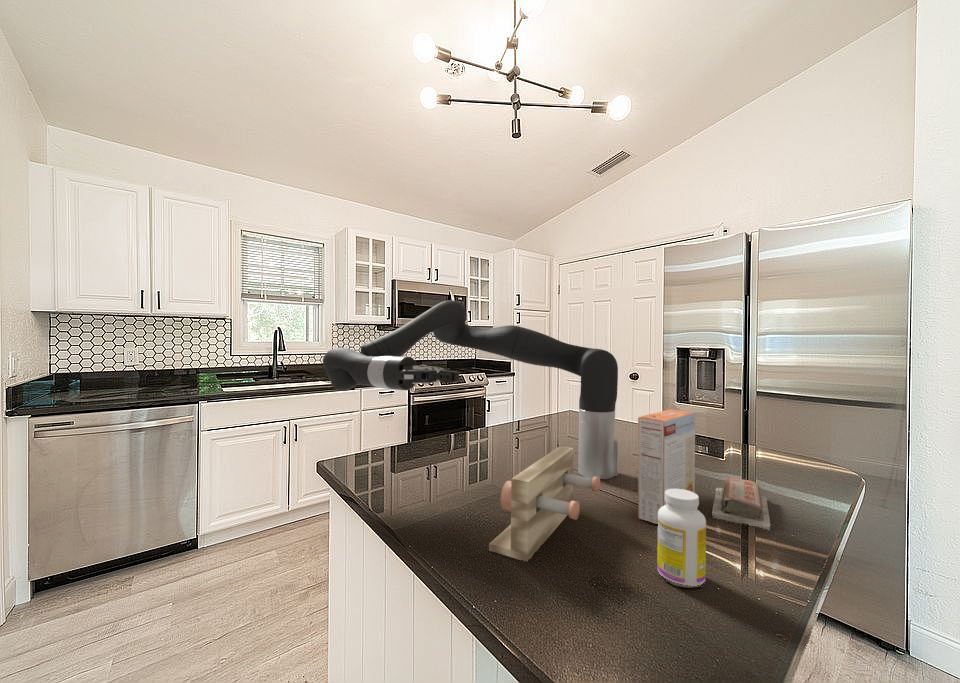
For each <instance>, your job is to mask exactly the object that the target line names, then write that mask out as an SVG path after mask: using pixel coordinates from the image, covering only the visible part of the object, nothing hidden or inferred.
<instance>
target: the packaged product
mask: <svg viewBox="0 0 960 683" xmlns="http://www.w3.org/2000/svg"><path fill="white" fill-rule="evenodd" d="M711 511H712V512H711V515H712V516H714V517H717V518H721V519H726V520H732V521H736V522H740V523H745V524H750V525H755V526H759V527H763V528H767V529H770V530H771V521H770V513H769V507H768V500H767V497H766V496H763V495H762V494H761V489H760V485H759V484H758V483H756V482H754V481H752V480H751V479H748V480H747V479H742V478H737V477H726V478H725V480H724V488H723V487H721V486H716V488H715V493H714V499H713V505H712V510H711Z"/></svg>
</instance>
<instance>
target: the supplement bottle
mask: <svg viewBox="0 0 960 683" xmlns="http://www.w3.org/2000/svg"><path fill="white" fill-rule="evenodd" d="M665 501H666V505H664V506H662V507H661V508H660V509H659V511H658V526H657V547H656V548H657V550H656V551H657V554H656V556H657V558H656V559H657V561H656V562H657V564H656V567H657V568H656V569H657V572H659V573H658V575H659V574H660V575H661V576H663V577H664V578H666V579H668V580H670V581H672V582H675V583H679V584H683V585H688V586H689V585H690V586H697V585H701V584H703V583H704V582H706V573H707V571H706V570H707V519H706V517H705V515H704V514H703V513H702V512H701V511H700V510H699V509H698V507H699V505H700V496H699V495H698V494H697V493H696V492H695V493H693V492H691V491H688V490H683V489H667V490H666V491H665ZM660 575H659V576H660ZM661 576H660V577H661ZM704 584H705V583H704Z"/></svg>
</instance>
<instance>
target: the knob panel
mask: <svg viewBox="0 0 960 683" xmlns="http://www.w3.org/2000/svg"><path fill="white" fill-rule="evenodd" d="M563 473H567V474H572V475H574V447H568V446H562V445H559V446H558V447H556V448H555V449H553V450H551V451H550V452H549V453H547V454H546V455H544V456H543V457H541V458H539V459H538V460H537V462H536V461H535V462H534V463H532V464H531V465H529V466H528V467H526V468H524V470H522V471H521V472H519V473H517V474H516V475H515V476H513V477H512V478H511V480H510V481H511V511H510V524H509V525H508V526H507V527H506V528H505V529H504V530H503V531H502V532H501V533H499V534H498V535H497V536H496V537H495V538H494V539H493V540H491V541H490V542H489V543H488V551H489V552H493V553H497V554H498V555H502V556H506V557H509V558H513V559H516V560H519V561H522V560H523V561H522V562H525V561H527V562H526V563H528V562H529V561H530V560H531V559H532V557H533V556H534V555H535V554H536V553H537V551H538V550H539V549H540V548H541V547H540V546H541V545H544V543H545V542H546V541H547V540H548V538H549V537H550V536H551V535H552V534H553V533H554V532H555V530H557V528H558V527H559V525H561V523H562V522H563V521H564V520H565V519H566V518H567V516H568V515H565V514H561V513H556V512H552V511H547V510H543V509H539V508H536V499H537V496H542V497H546V498H551V499H556V500H560V501H565V502H571V501H572V500H573V501H574V497H573V496H574V485H569V484H564V483H563ZM535 552H536V553H535ZM534 553H535V554H534ZM533 554H534V555H533ZM529 559H530V560H529ZM528 560H529V561H528Z"/></svg>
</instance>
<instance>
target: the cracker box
mask: <svg viewBox="0 0 960 683" xmlns="http://www.w3.org/2000/svg"><path fill="white" fill-rule="evenodd" d="M637 424H638V425H637V428H638V430H637V438H638V439H637V442H638V443H637V466H638V467H637V478H638V480H637V481H638V482H637V519H638V518H639V519H638V520H640V519H642V520H641V521H643V520H645V521H644V522H646V521H649V522H652V523H655V524H658V511H659V509H660V508H661V507H662V506H664V505H666V501H665V491H666V490H667V489H683V490H688V491H691V492H693V493H695V494H696V492H695V489H696V488H695V481H696V478H695V477H696V476H695V474H696V473H695V471H696V465H695V464H696V463H695V462H696V412H695V411H687V410H680V409H673V408H672V409H671V408H670V409H666V410H661V411H658V412H653V413H650V414H646V415H642V416H638V418H637ZM649 522H648V523H649Z"/></svg>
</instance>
